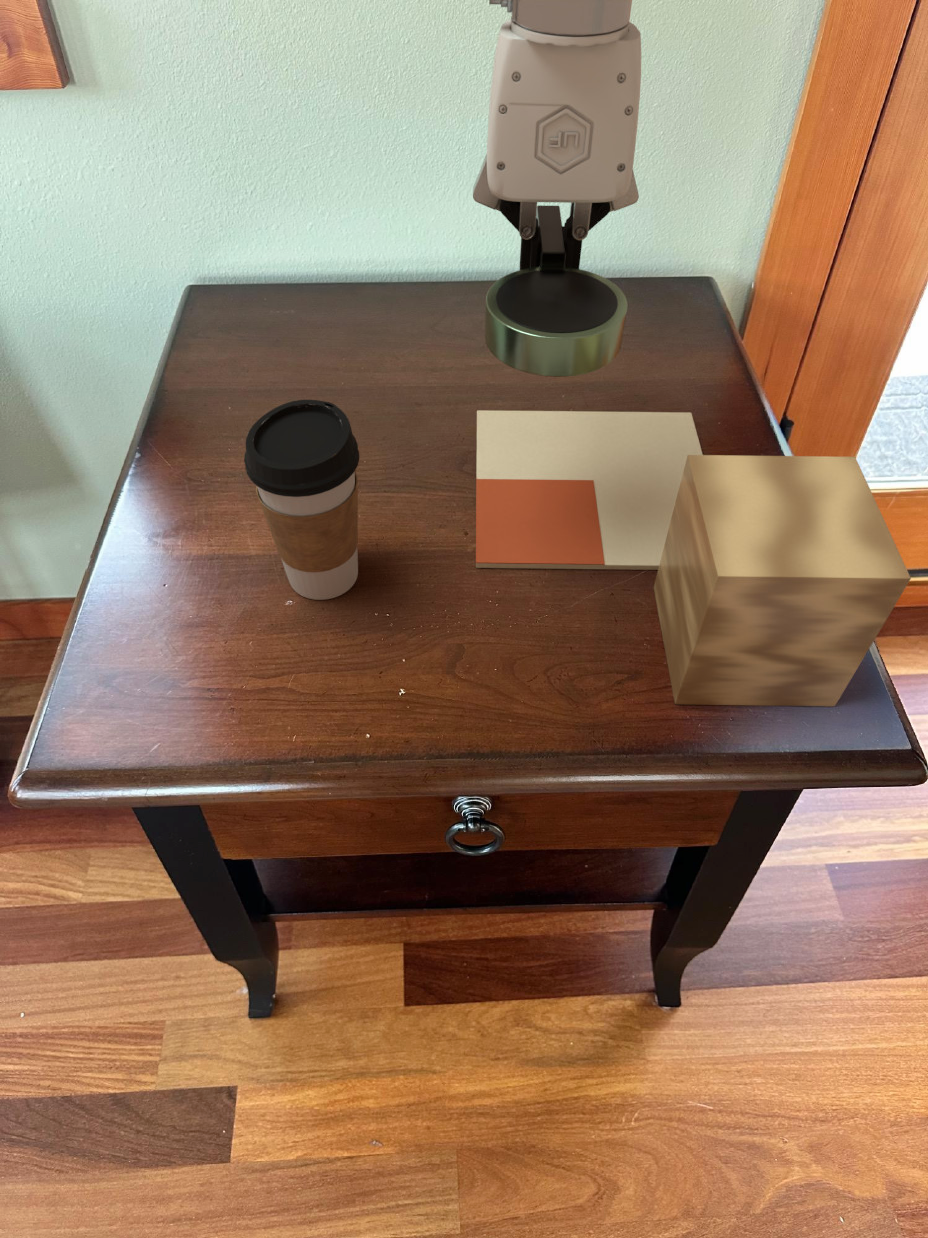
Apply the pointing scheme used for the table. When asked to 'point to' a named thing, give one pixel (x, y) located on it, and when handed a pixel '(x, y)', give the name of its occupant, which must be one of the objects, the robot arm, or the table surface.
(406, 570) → the table surface
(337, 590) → the coffee cup
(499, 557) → the mat
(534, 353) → the pan
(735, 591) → the block
